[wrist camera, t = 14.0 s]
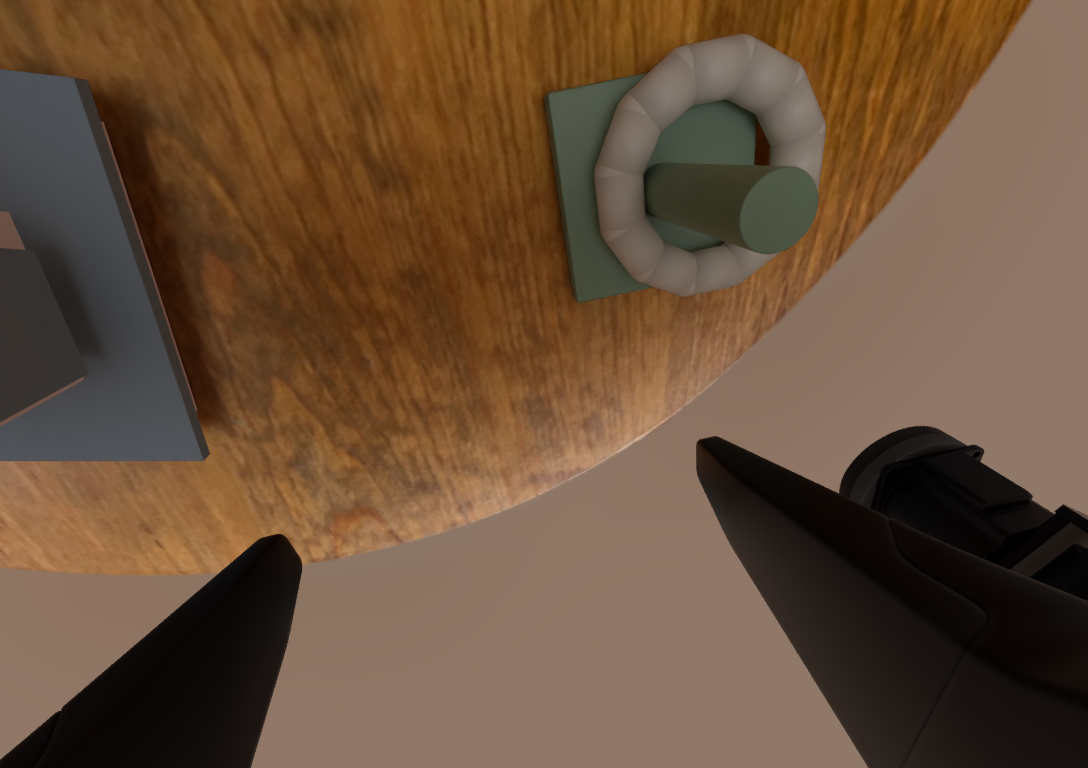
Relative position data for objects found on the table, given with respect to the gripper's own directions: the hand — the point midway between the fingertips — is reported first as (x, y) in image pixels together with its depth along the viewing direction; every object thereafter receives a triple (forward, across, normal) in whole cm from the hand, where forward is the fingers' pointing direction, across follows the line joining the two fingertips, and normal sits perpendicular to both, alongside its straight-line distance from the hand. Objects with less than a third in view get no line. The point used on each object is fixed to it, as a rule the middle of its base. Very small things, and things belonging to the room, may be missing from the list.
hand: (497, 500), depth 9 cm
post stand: (+12, -8, -4) cm, 15 cm away
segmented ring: (+10, -10, -4) cm, 15 cm away
